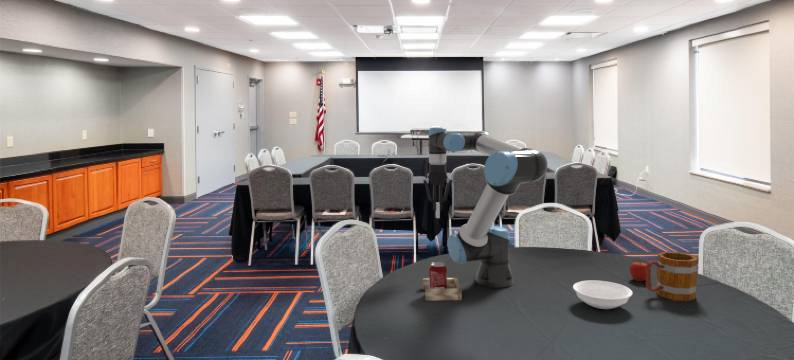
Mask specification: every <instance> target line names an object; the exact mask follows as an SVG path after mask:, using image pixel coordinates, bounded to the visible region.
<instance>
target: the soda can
mask: <svg viewBox="0 0 794 360" xmlns="http://www.w3.org/2000/svg"><path fill="white" fill-rule="evenodd" d="M447 268H448V267H446V263H445V262H442V261H435V262H431V263H430V266H429V268H428V272H429V273H428V275H429V276H428V278H429V289H447V278H448V269H447Z"/></svg>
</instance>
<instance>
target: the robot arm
mask: <svg viewBox="0 0 794 360" xmlns="http://www.w3.org/2000/svg"><path fill="white" fill-rule="evenodd" d="M460 151H461V152H462V151H476V152H478V153H481V154H483V155H486V156H488V158H487V159H486V161H485V163H484V169H485V170H484V171H483V173H484V178H485V183H486V185H485V188H484V190H483V192H481V193H482V194H481V195H480V197H479V199H478V202H477V203H476V206H474V209H473V211H472V213H471V215H470V217H469V219H468V220H467V223H465V224H463V225H461V226H460V228H459V229H458V231H457V233H453V234H450V235H449V236H448V238H447V250H448V254H449V256H450V258H451V259H452V261H453V262H455V263H456V264H467V263H472V262H477V261H480V263H479V266H478V270H477V272H476V275H475V282H476V284H478V285H481V286H483V287H486V288H496V289H497V288H500V289H501V288H506V287H507V288H508V287H510V286H512V285H513V284H514V275H513V273H512V270H511V266H510V248H511V247H510V244H511V242H510V241H511V237H510V230H508V228H505V227H503V226H502V227H501V226H497V225H493V224H494V223H495V220H496V219H497V217H498V216H499V214H500V212H501V210H502V208H503V206H504V204H505V203H506V201H507V199H508V197H509V196H512V195H514V194H515V193H517V190H518V189H519V188H520V185H522V184H531V183H535V182H538V181H540V180H541V179H542V178H543V177H544V176H545V174H546V172H547V170H548V160H547V157H546V156H545V154H543V153H542V152H541V151H539V150H537V149H534V148H531V147H527V146H526V147H521V146H518V145H514V144H512V143H509V142H506V141H503V140H500V139H498V138H494V137H493V136H492V137H491V134H489V132H487V131H473V132H472V131H470V132H469V131H468V132H465V131H464V132H448V131H447V128H446V127H430V128H429V130H428V163H429V164H428V175H427V177H426V178H425V179H423V180H422V182H423V184H424V185H425V189H426V194H427V197H428V200H429V202H430V203H431V202H432V206H433V207H432V209H433V211H435V219H440V218H441V217H440V216H441V215H440V214H441V211H442V210H443V203H446V202H447V199H448V196H449V193H450V192H449V191H450V188H451V185H452V183H453V179H452V178H449V177H448V175H447V164H446V163H447V152H450V153H453V152H455V153H457V152H460ZM445 182H446V186H445V189H444V194H443V185H444V184H445ZM429 183H431V185H432V194H431V190H430V189H431V188H430V185H429ZM437 186H438V202H437Z"/></svg>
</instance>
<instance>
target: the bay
mask: <svg viewBox="0 0 794 360" xmlns="http://www.w3.org/2000/svg"><path fill="white" fill-rule="evenodd" d="M422 289H423V290H424V294H425V295H424V297H425V301H433V302H434V301H462V300H463V299H462V295H463V294H462V293H463V292H462V287H461V285H460V283H459V280H458V278H457V277H447V289H429V277H425V278H424V277H423V278H422Z"/></svg>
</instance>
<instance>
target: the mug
mask: <svg viewBox="0 0 794 360" xmlns="http://www.w3.org/2000/svg"><path fill="white" fill-rule="evenodd" d="M698 263H699V258H697V257H696V256H695V255H693V254H688V253H683V252H681V251H680V252H679V251H678V252H677V251H663V252H660V253H657V261H655V260H650V261H648V262H647V263H646V264H647V266H646V280H645V286H646V288H647V290H648V291H650V292H655V293H656V294H657V295H658V296H659V297H661V298H665V299H668V300H671V301H677V302H678V301H680V302H691V301H693V300H695V299H697V294H696V286H697V282H698V275H697V274H698V273H697V272H698ZM652 265H655V266H656V267H657V268H656V269H657V270H656V286H654V287H651V279H652V278H651V273H650V268H651V267H652Z"/></svg>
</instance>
